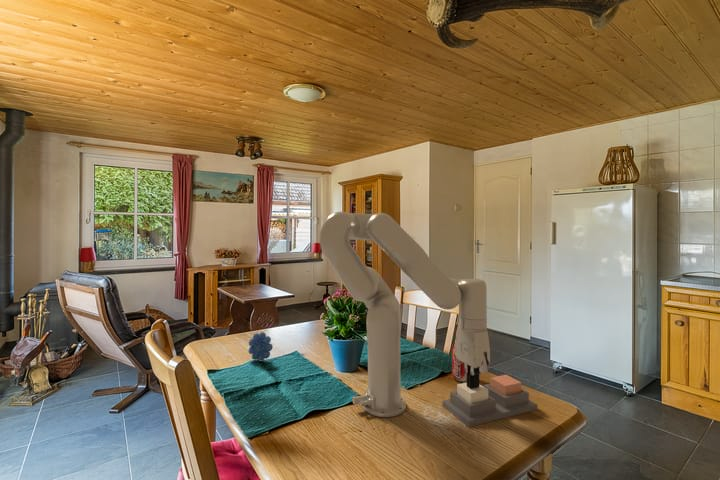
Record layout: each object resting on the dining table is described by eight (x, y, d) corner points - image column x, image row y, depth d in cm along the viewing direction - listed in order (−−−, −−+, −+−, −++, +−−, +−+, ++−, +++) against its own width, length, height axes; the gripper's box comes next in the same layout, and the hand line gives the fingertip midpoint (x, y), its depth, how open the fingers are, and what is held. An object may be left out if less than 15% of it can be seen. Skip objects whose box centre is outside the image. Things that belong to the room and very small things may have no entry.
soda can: (474, 384, 118) (474, 348, 118) (452, 382, 119) (452, 347, 119) (472, 375, 125) (472, 342, 125) (451, 374, 126) (451, 340, 126)
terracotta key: (505, 396, 101) (505, 386, 101) (490, 387, 106) (490, 377, 106) (521, 392, 103) (521, 382, 103) (506, 384, 109) (506, 374, 108)
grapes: (279, 360, 141) (278, 330, 141) (268, 366, 135) (267, 335, 135) (256, 356, 146) (255, 327, 146) (244, 361, 140) (244, 331, 140)
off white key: (470, 404, 97) (470, 393, 96) (457, 394, 102) (457, 384, 102) (488, 400, 99) (488, 389, 99) (474, 391, 104) (474, 381, 104)
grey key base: (468, 427, 93) (468, 410, 93) (442, 405, 104) (442, 390, 104) (537, 409, 101) (537, 393, 101) (506, 391, 113) (506, 377, 112)
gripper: (445, 318, 105) (446, 378, 106) (479, 331, 91) (480, 401, 92) (466, 315, 108) (467, 374, 109) (502, 328, 94) (502, 396, 95)
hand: (472, 386), depth 100 cm, fingers closed
